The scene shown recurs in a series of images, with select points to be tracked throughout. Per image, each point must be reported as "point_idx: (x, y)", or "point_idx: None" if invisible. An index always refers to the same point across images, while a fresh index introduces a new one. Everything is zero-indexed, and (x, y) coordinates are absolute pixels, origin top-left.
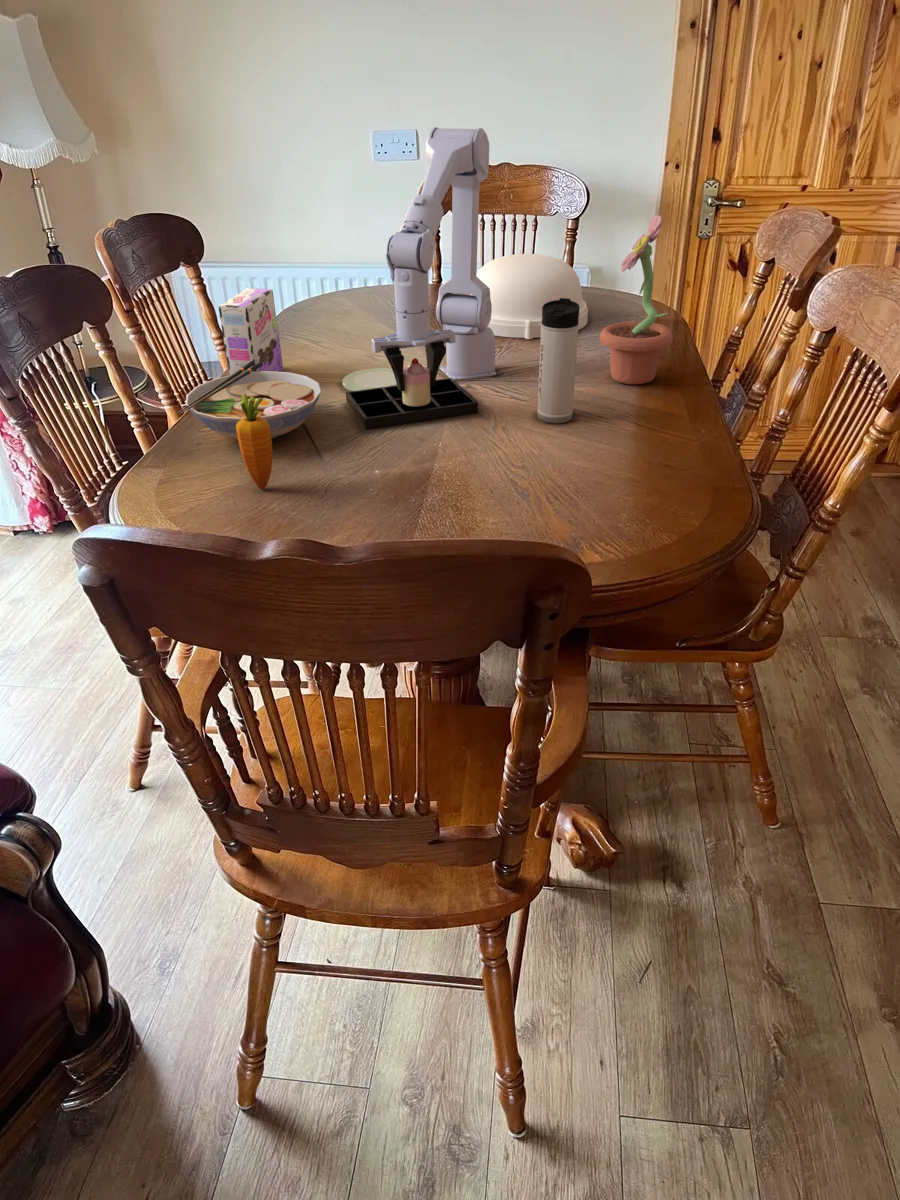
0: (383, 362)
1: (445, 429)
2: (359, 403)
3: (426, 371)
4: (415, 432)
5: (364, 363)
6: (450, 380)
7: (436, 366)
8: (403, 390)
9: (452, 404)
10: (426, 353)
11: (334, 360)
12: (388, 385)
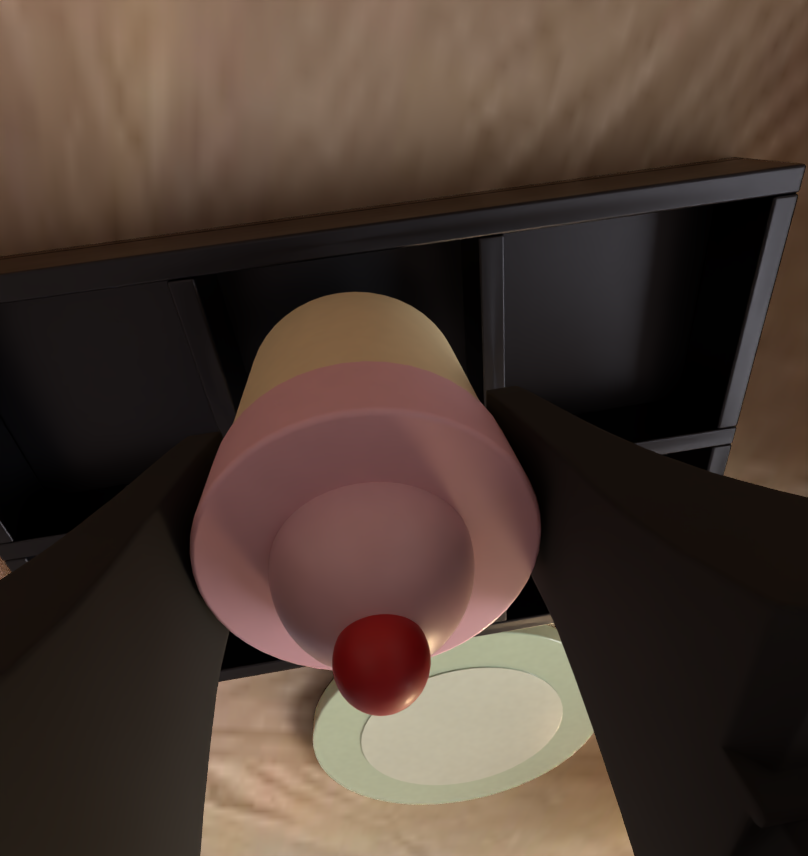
0: (395, 838)
1: (163, 29)
2: None
3: (237, 528)
4: (416, 38)
5: (460, 833)
6: None
7: (62, 559)
8: (493, 390)
9: (111, 457)
10: (192, 825)
11: (544, 846)
12: (435, 681)
